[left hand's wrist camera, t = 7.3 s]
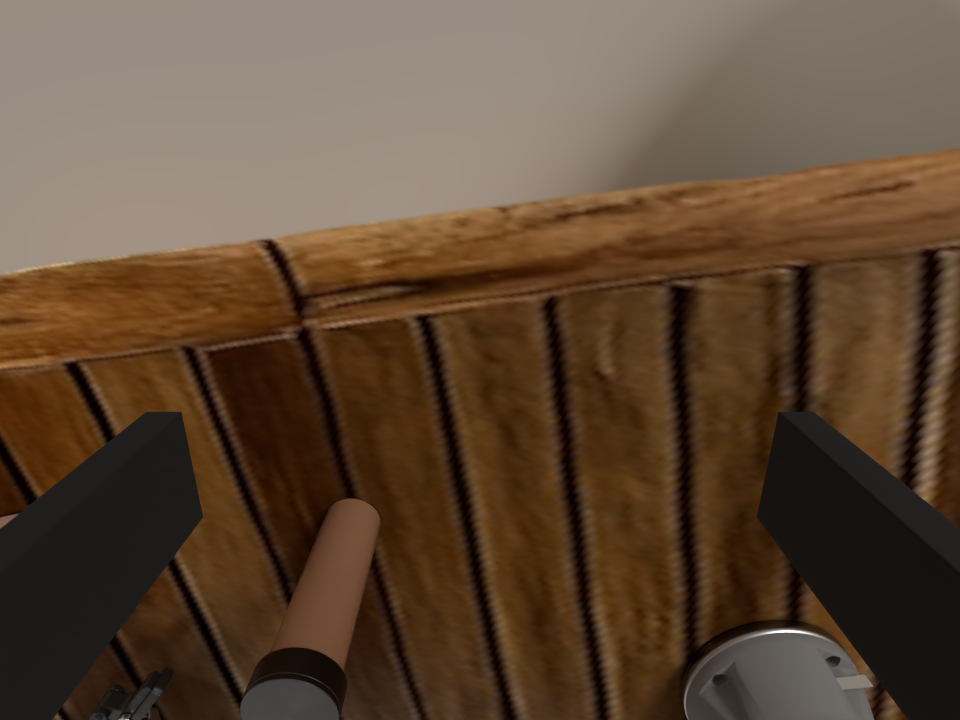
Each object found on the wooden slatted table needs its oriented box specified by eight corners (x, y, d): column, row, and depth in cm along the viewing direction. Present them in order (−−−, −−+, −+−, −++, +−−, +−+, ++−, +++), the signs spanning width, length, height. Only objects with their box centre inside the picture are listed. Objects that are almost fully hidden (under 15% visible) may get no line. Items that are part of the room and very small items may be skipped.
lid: (255, 640, 31) (241, 672, 29) (351, 653, 31) (343, 686, 29) (251, 708, 33) (238, 742, 31) (342, 719, 33) (334, 753, 31)
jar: (327, 494, 44) (252, 672, 30) (383, 502, 45) (337, 683, 30) (322, 539, 46) (249, 730, 31) (377, 547, 46) (329, 739, 32)
